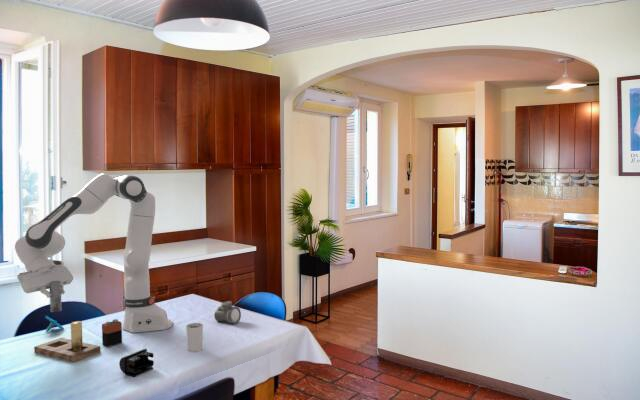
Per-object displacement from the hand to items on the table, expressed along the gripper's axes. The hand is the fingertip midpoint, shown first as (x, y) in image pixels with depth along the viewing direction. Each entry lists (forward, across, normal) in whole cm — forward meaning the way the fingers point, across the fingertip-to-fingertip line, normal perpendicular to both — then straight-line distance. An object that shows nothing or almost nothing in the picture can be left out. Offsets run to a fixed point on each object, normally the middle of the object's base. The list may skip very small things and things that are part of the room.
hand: (56, 295), depth 202 cm
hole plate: (+20, 0, +12) cm, 24 cm away
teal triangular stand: (-2, +16, +35) cm, 38 cm away
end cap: (+49, -1, -16) cm, 51 cm away
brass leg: (+24, 0, +8) cm, 26 cm away
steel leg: (+4, 0, +5) cm, 7 cm away
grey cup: (+52, +25, -19) cm, 61 cm away
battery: (+26, +15, +7) cm, 31 cm away
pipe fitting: (+44, +61, -11) cm, 76 cm away
